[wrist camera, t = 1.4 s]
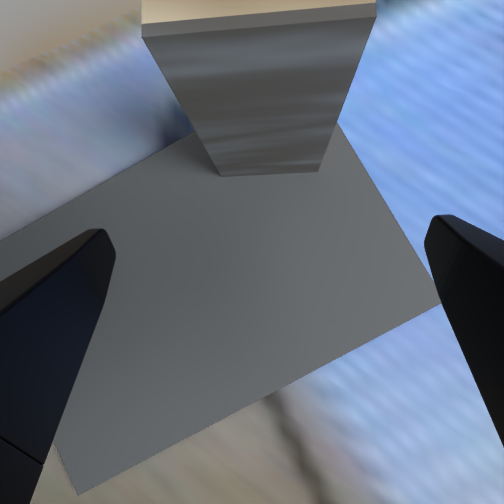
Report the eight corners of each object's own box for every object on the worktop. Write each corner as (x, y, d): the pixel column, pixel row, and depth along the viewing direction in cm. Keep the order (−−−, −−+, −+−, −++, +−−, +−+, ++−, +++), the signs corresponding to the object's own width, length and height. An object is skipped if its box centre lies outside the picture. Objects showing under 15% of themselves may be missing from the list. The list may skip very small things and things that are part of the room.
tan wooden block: (317, 172, 22) (376, 16, 9) (221, 176, 22) (141, 36, 9) (316, 128, 22) (370, -86, 9) (220, 134, 22) (141, -61, 9)
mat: (440, 300, 21) (445, 301, 20) (83, 489, 22) (77, 495, 21) (303, 73, 23) (304, 68, 22) (-20, 257, 24) (-28, 256, 23)
